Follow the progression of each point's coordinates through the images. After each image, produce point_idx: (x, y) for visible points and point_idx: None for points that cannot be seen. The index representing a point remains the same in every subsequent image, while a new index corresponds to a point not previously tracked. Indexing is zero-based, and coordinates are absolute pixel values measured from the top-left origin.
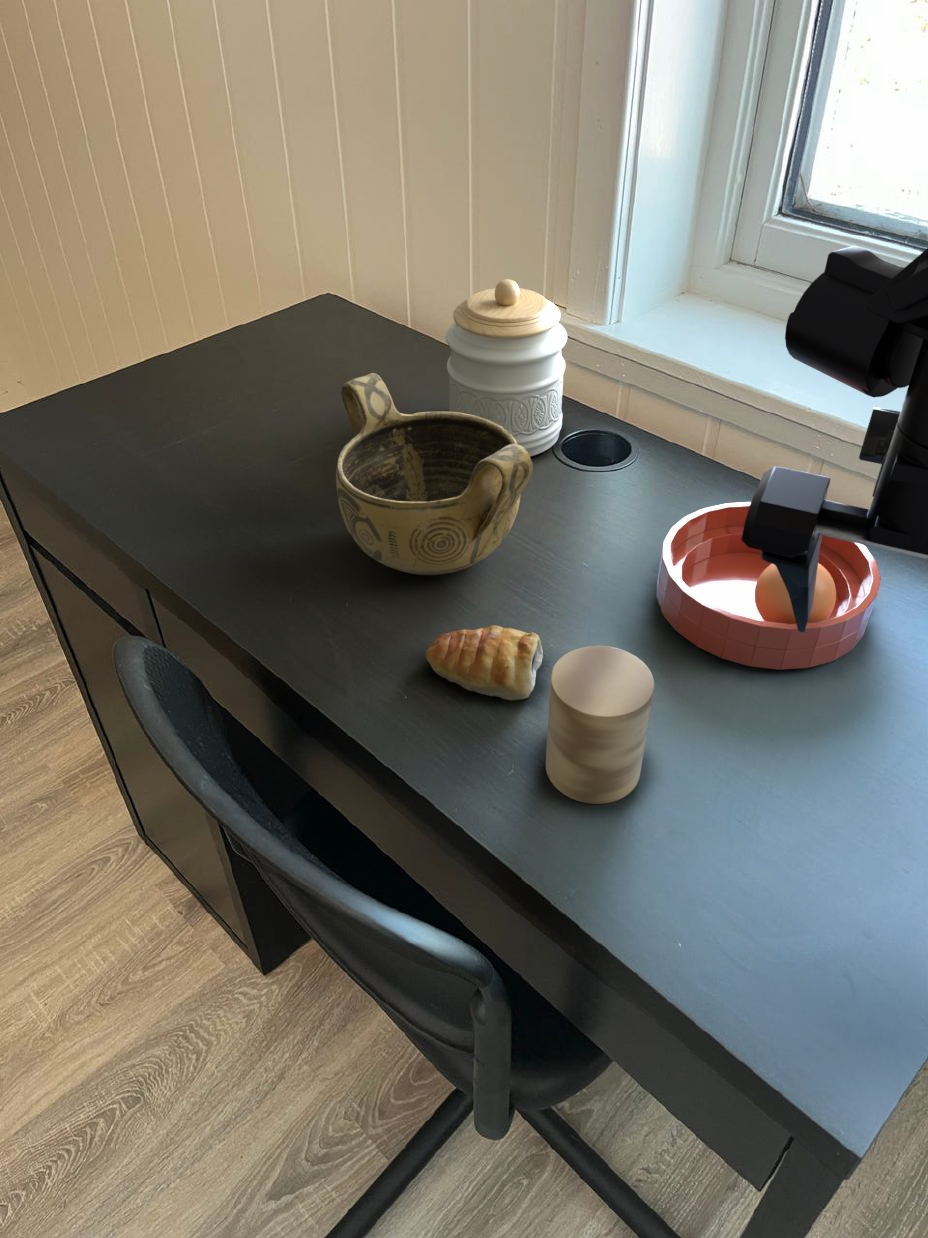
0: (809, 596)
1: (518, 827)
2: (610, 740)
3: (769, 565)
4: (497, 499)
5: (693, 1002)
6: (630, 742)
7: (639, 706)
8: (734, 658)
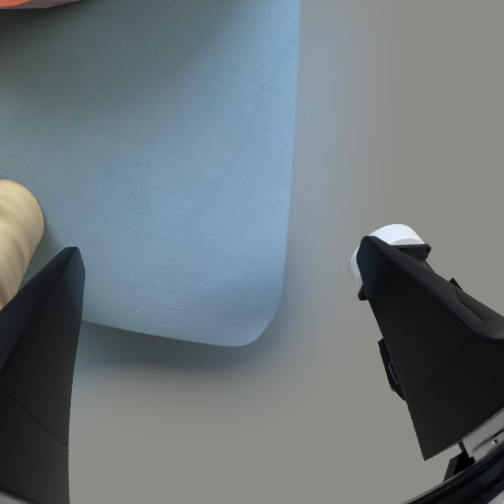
0: (66, 392)
1: None
2: None
3: None
4: None
5: (159, 332)
6: (18, 287)
7: None
8: (58, 4)
